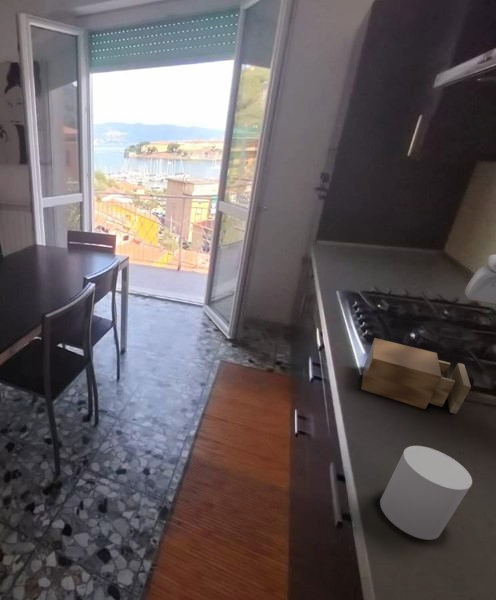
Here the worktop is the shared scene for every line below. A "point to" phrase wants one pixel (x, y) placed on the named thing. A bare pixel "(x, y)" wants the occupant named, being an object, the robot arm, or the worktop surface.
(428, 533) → the cup
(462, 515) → the worktop surface
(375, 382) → the cabinet
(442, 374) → the drawer
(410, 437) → the worktop surface
